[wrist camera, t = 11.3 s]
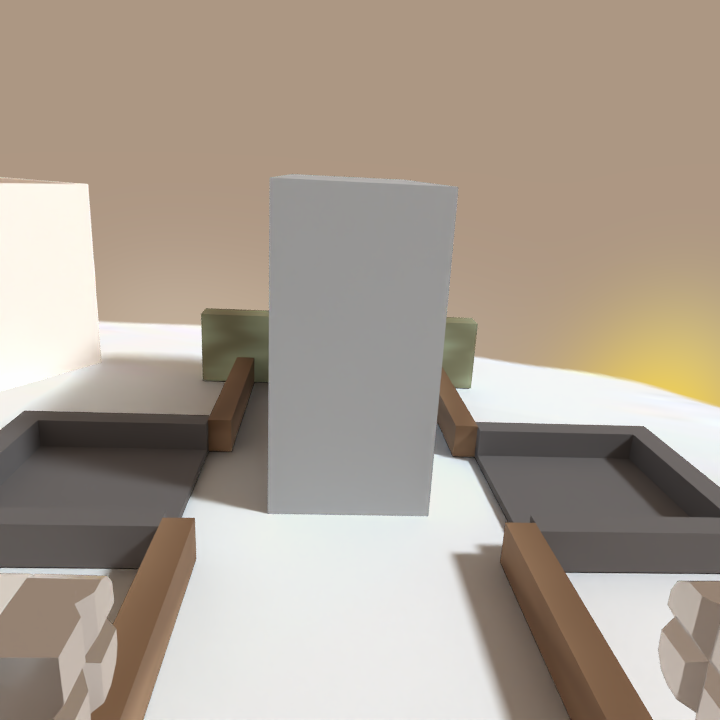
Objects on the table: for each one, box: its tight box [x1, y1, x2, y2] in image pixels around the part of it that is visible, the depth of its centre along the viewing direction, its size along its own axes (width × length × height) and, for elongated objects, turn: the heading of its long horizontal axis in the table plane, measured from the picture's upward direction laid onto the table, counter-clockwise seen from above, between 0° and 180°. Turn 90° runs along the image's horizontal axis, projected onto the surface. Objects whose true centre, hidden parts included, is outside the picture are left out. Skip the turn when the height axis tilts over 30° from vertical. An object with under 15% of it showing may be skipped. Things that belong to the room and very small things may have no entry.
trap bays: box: [0, 411, 720, 573], centre depth 24 cm, size 28×9×2 cm, turn 93°
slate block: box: [268, 174, 458, 516], centre depth 28 cm, size 6×14×12 cm, turn 3°
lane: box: [91, 308, 653, 720], centre depth 25 cm, size 16×27×4 cm, turn 3°
